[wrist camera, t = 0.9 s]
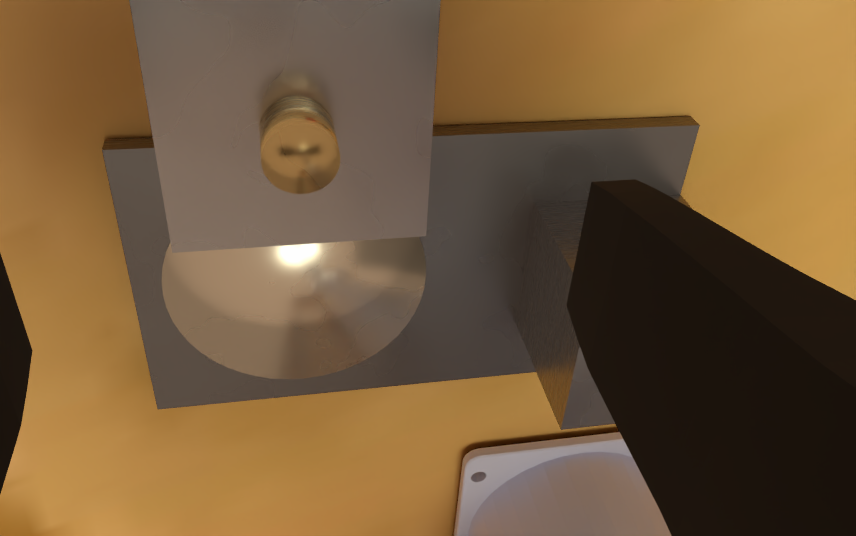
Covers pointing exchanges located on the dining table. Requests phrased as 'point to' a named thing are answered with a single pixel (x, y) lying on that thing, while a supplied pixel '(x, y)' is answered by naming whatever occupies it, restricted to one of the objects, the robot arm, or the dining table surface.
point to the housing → (290, 118)
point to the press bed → (396, 274)
